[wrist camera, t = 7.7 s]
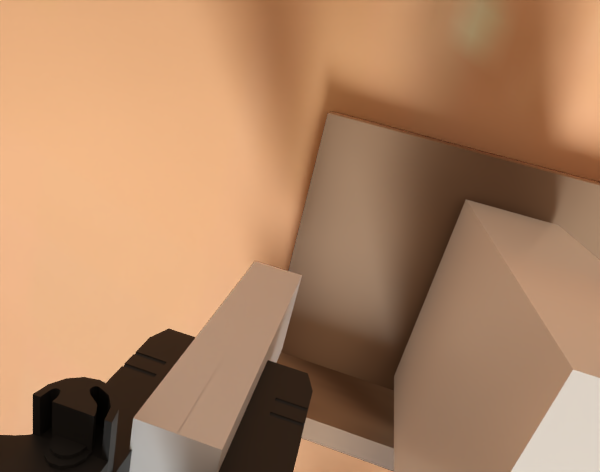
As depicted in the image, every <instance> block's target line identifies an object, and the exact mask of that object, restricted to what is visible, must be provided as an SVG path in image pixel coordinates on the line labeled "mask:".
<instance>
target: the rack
mask: <svg viewBox="0 0 600 472" xmlns="http://www.w3.org/2000/svg"><path fill="white" fill-rule="evenodd" d="M466 199H467V200H470V201H474V202H477V203H481V204H484V205H488V206H492V207H495V208H499V209H502V210H506V211H509V212H513V213H517V214H520V215H524V216H527V217H531V218H534V219H538V220H542V221H545V222H549V223H552V224H556V225H559V226H560V227H561V228H562V229H563V230H565V231H566V232H567V233H568V234H569V235H570V236H572V237H573V238H574V239H575V240H576V241H578V242H579V243H580V244H581V245H582V246H583V247H585V248H586V249H587V250H588V251H589V252H590V253H592V254H593V255H594V256H595V257H596V258H598V259H599V260H600V182H596V181H593V180H589V179H585V178H581V177H577V176H574V175H570V174H566V173H562V172H559V171H555V170H551V169H547V168H544V167H540V166H536V165H532V164H528V163H525V162H521V161H517V160H513V159H510V158H506V157H502V156H498V155H495V154H491V153H487V152H483V151H480V150H476V149H472V148H468V147H464V146H461V145H457V144H453V143H449V142H446V141H442V140H438V139H434V138H431V137H427V136H423V135H419V134H415V133H412V132H408V131H404V130H400V129H397V128H393V127H389V126H385V125H382V124H378V123H374V122H370V121H367V120H363V119H359V118H355V117H351V116H348V115H344V114H340V113H336V112H333V111H332V112H329V113H328V115H327V119H326V123H325V127H324V130H323V134H322V138H321V142H320V146H319V150H318V154H317V158H316V162H315V166H314V170H313V174H312V178H311V182H310V186H309V190H308V194H307V198H306V202H305V206H304V210H303V214H302V218H301V222H300V226H299V230H298V234H297V238H296V242H295V246H294V250H293V254H292V258H291V262H290V266H289V270H288V271H290V272H293V273H296V274H299V275H302V277H301V281H300V285H299V288H298V292H297V296H296V299H295V303H294V307H293V311H292V314H291V318H290V322H289V325H288V329H287V333H286V337H285V340H284V344H283V348H282V350H281V353H280V355H279V358H278V360H277V363H278V364H281V365H284V366H287V367H290V368H293V369H296V370H299V371H302V372H305V373H308V376H309V379H310V383H311V386H312V390H313V392H312V396H311V400H310V404H309V408H308V413H307V417H306V421H305V425H304V429H303V433H302V437H301V438H303V439H305V440H308V441H311V442H314V443H316V444H319V445H322V446H325V447H327V448H330V449H333V450H336V451H339V452H341V453H344V454H347V455H350V456H352V457H355V458H358V459H361V460H363V461H366V462H369V463H372V464H375V465H377V466H380V467H383V468H386V469H388V470H391V471H394V375H395V373H396V370H397V368H398V365H399V363H400V360H401V358H402V355H403V353H404V350H405V348H406V346H407V343H408V341H409V338H410V336H411V333H412V331H413V328H414V326H415V323H416V321H417V318H418V316H419V313H420V311H421V309H422V306H423V304H424V301H425V299H426V296H427V294H428V291H429V289H430V286H431V284H432V281H433V279H434V277H435V274H436V272H437V269H438V267H439V264H440V262H441V259H442V257H443V254H444V252H445V249H446V247H447V245H448V242H449V240H450V237H451V235H452V232H453V230H454V227H455V225H456V222H457V220H458V217H459V215H460V213H461V210H462V208H463V205H464V203H465V200H466Z"/></svg>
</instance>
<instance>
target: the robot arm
mask: <svg viewBox="0 0 600 472" xmlns="http://www.w3.org/2000/svg"><path fill="white" fill-rule="evenodd" d="M301 277H302V275H299V274H296V273H293V272H290V271H286V270H283V269H280V268H277V267H274V266H270V265H267V264H264V263H261V262H257V261H254V263H253V264H252V265H251V267H250V268H249V269H248V271H247V272H246V273H245V274H244V276H243V277H242V278H241V280H240V281H239V282H238V283H237V285H236V286H235V287H234V289H233V290H232V291H231V292H230V294H229V295H228V296H227V298H226V299H225V300H224V302H223V303H222V304H221V305H220V307H219V308H218V309H217V311H216V312H215V313H214V314H213V316H212V317H211V318H210V320H209V321H208V322H207V323H206V325H205V326H204V327H203V329H202V330H201V331H200V333H199V334H198V335H197V336H196V338H195V337H192V336H189V335H186V334H183V333H180V332H177V331H174V330H171V329H167V330H165V331H163V332H161V333H159V334H156V335H154V336H152V337H150V338H149V339H148V340H147V341H146V342H145V343H144V344H143V345H142V346H141V347H140V348H139V349H138V350H137V351H136V354H135V355H133V356H132V357H131V358H130V359H129V360H128V361H127V362H126V363H125V365H124V367H123V366H122V367H121V368H120V369H119V370H118V371H117V372H116V373H115V374H114V375H113V376H112V377H111V378H110V379H109V381H108V382H107V383H104V382H102V381H101V380H96V379H91V378H85V377H81V378H69V379H64V380H61V381H58V382H55V383H52V384H48V385H47V386H45V387H44V388H42V389H41V390H39V391H37V392H36V393H34V394H33V434H31V435H16V436H13V435H0V472H293V470H294V466H295V462H296V457H297V453H298V449H299V445H300V441H301V437H302V433H303V429H304V425H305V421H306V417H307V413H308V408H309V404H310V400H311V396H312V392H313V390H312V386H311V383H310V379H309V376H308V373H305V372H302V371H299V370H296V369H293V368H290V367H287V366H284V365H281V364H278V363H277V360H278V358H279V355H280V353H281V350H282V348H283V344H284V340H285V337H286V333H287V329H288V325H289V322H290V318H291V314H292V311H293V307H294V303H295V299H296V296H297V292H298V288H299V285H300V281H301Z"/></svg>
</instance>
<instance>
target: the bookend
mask: <svg viewBox="0 0 600 472" xmlns="http://www.w3.org/2000/svg"><path fill="white" fill-rule="evenodd" d="M394 472H600V260H599V259H598V258H596V257H595V256H594V255H593V254H592V253H590V252H589V251H588V250H587V249H586V248H585V247H583V246H582V245H581V244H580V243H579V242H578V241H576V240H575V239H574V238H573V237H572V236H570V235H569V234H568V233H567V232H566V231H565V230H563V229H562V228H561V227H560V226H559V225H556V224H552V223H549V222H545V221H542V220H538V219H534V218H531V217H527V216H524V215H520V214H517V213H513V212H509V211H506V210H502V209H499V208H495V207H492V206H488V205H484V204H481V203H477V202H474V201H470V200H467V199H466V200H465V203H464V205H463V208H462V210H461V213H460V215H459V217H458V220H457V222H456V225H455V227H454V230H453V232H452V235H451V237H450V240H449V242H448V245H447V247H446V249H445V252H444V254H443V257H442V259H441V262H440V264H439V267H438V269H437V272H436V274H435V277H434V279H433V281H432V284H431V286H430V289H429V291H428V294H427V296H426V299H425V301H424V304H423V306H422V309H421V311H420V313H419V316H418V318H417V321H416V323H415V326H414V328H413V331H412V333H411V336H410V338H409V341H408V343H407V346H406V348H405V350H404V353H403V355H402V358H401V360H400V363H399V365H398V368H397V370H396V373H395V375H394Z"/></svg>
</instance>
